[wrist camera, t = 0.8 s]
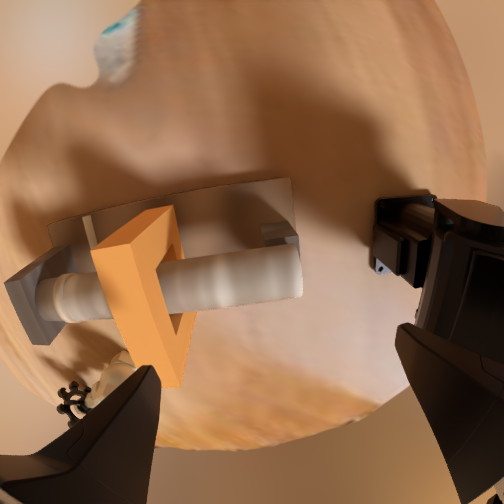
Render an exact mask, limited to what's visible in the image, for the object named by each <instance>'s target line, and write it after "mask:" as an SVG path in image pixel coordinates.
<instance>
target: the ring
mask: <svg viewBox="0 0 504 504" xmlns="http://www.w3.org/2000/svg"><path fill="white" fill-rule="evenodd" d="M90 252H91V256H92V259H93V262H94V265H95V268H96V271H97V274H98V277H99V280H100V283H101V286H102V289H103V291H104V294H105V297H106V300H107V302H108V305H109V307H110V310H111V312H112V315H113V317H114V320H115V322H116V325H117V327H118V329H119V332H120V334H121V336H122V338H123V341H124V343H125V345H126V347H127V349H128V351H129V354H130V356H131V358H132V360H133V362H134V364H135V366H136V368H137V369H138V368H139V367H140V366H142V365H152V366H153V367H154V368H155V370H156V372H157V374H158V376H159V378H160V380H161V388H180V387H181V385H182V379H183V374H184V369H185V364H186V360H187V355H188V350H189V345H190V340H191V336H192V331H193V327H194V322H195V317H196V313H197V311H195V312H185V313H175V314H169V313H168V310H167V307H166V304H165V301H164V297H163V294H162V291H161V287H160V284H159V280H158V277H157V273H156V270H155V269H156V268H157V266H158V265H159V263H160V262H166V261H173V260H180V259H185V258H184V253H183V249H182V244H181V240H180V235H179V230H178V226H177V221H176V216H175V211H174V206H173V205H169V206H164V207H159V208H154V209H149V210H145V211H144V212H142V213H141V214H139V215H138V216H136V217H135V218H134V219H132V220H131V221H129V222H128V223H127V224H125V225H124V226H122V227H121V228H120V229H118V230H117V231H115V232H114V233H113V234H111V235H110V236H109V237H107V238H106V239H105V240H103V241H102V242H101V243H99V244H98V245H97V246H96V247H94V248H93V249H92V250H90Z"/></svg>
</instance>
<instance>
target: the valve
mask: <svg viewBox="0 0 504 504" xmlns="http://www.w3.org/2000/svg"><path fill="white" fill-rule="evenodd" d="M136 370H137V368H136V366H135V364H134V362H133V360H132V358H131V356H130V354H129V352H128V351H125V350H122V351H121V352H119V353H118V354H116V355H115V356H114V357H113V358H112V360H111V362H110V364H109V366H108V367H107V368H106V369H105V370H104V371H103V373H102V375H101V378H100V380H99V381H98V382H96V383H95V384H94V385H93V386H92V389H91V388H90V387H87V388H85V389H84V390H83V391H80V390H78V386H79V384H78V383H77V382H75V381H73V382H71V383H70V384H69V389H70V390H71V391H70V392H69V393H67V392H66V391H65V390H66V389H65V388H61V389H59V390H58V396H59V397H60V398H63V400H64V405H63V404H60V405H58V406H57V411H58V412H59V413H60V414H64V413H66V414H67V415H68V416H69V418H70V421H68V426H69V428H71V427H72V426H73V425H75V424H76V423H77V422H78V421H79V420H80V419H79V418H77V417H76V416H75V415H74V414H73V413H72V411H71V409H70V406H71V405H74V408H75V410H76V412H77V413H78V414H83V415H84V414H87V413H88V412H90V411H91V410H92V409H93V408H94V407H95V406H96V405H98V404H99V403H100V402H101V401H102V400H103V399H104V398H106V397H107V396H108V395H109V394H110V393H111V392H112V391H113V390H115V389H116V388H117V387H118V386H119V385H120V384H121V383H122V382H124V381H125V380H126V379H127V378H128V377H129V376H130V375H131V374H133V373H134V372H135V371H136ZM74 395H77V396H81V398H80V399H78V400H70V398H71V397H72V396H74Z"/></svg>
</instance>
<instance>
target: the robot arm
mask: <svg viewBox="0 0 504 504" xmlns="http://www.w3.org/2000/svg"><path fill="white" fill-rule="evenodd" d="M432 198H433V201H431V200H432ZM381 202H382V203H383V205H382V207H380V203H381ZM373 255H374V271H375V272H376V273H377V274H385V273H390V272H393V273H394V274H395V275H396V276H401V277H402V278H403V279H405V280H406V281H407V282H408V283H409V284H410V285H411V286H412V287H414V288H420V287H421V288H422V294H421V298H420V303H419V307H418V309H417V310H416V314H415V319H416V320H415V324H414V325H413V324H411V323H404V324H400V325H399V326H398V327H397V332H396V338H395V347H396V350H397V353H398V355H399V358H400V360H401V363H402V366H403V368H404V371H405V374H406V376H407V379H408V381H409V383H410V385H411V387H412V389H413V391H414V393H415V395H416V397H417V399H418V401H419V403H420V405H421V407H422V409H423V411H424V413H425V415H426V417H427V420H428V422H429V424H430V426H431V428H432V431H433V433H434V435H435V437H436V440H437V442H438V444H439V447H440V449H441V451H442V454H443V456H444V459H445V461H446V463H447V466H448V469H449V471H450V474H451V476H452V479H453V482H454V485H455V487H456V490H457V493H458V496H459V499H460V502H461V504H468V503H470V502H471V501H473V500H474V499H476V498H477V497H479V496H480V495H482V494H483V493H485V492H486V491H487V490H489V489H490V488H491V487H493V486H494V487H495V489H496V492H497V493H496V494H495V495H494V496H492V497H491V498H490V499H489V500H488V501H487V504H504V212H503V210H502V209H501V208H500V207H498V206H495V205H491V204H488V203H484V202H481V201H476V200H457V199H437V197H436V196H435V195H433V194H424V195H410V196H397V197H385V198H378V199H377V200H376V201H375V225H374V226H373ZM379 267H381V269H380V270H378V269H379ZM160 399H161V380H160V378H159V376H158V374H157V372H156V370H155V368H154V367H153V366H152V365H142V366H140V367H139V368H138V369H137V370H136V371H135V372H134V373H133V374H131V375H130V376H129V377H128V378H127V379H126V380H125V381H124V382H122V383H121V384H120V385H119V386H118V387H117V388H116V389H115V390H113V391H112V392H111V393H110V394H109V395H108V396H107V397H106V398H104V399H103V400H102V401H101V402H100V403H99V404H98V405H96V406H95V407H94V408H93V409H92V410H91V411H90V412H88V413H87V414H86V415H85V416H84V417H83V419H80V420H79V421H78V422H77V423H76V424H75V425H73V426H72V427H71V428H70V429H69V430H67V431H66V432H65V433H64V434H62V435H61V436H60V437H58V438H57V439H55V440H54V441H53V442H51V443H49V444H48V445H47V446H45V447H44V448H42V449H41V450H39V451H38V452H36V453H34V454H31V455H25V456H17V455H15V456H14V455H0V504H146V502H147V494H148V486H149V479H150V472H151V465H152V459H153V453H154V446H155V440H156V434H157V429H158V423H159V414H160Z"/></svg>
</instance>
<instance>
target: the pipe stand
mask: <svg viewBox="0 0 504 504" xmlns="http://www.w3.org/2000/svg"><path fill="white" fill-rule="evenodd" d="M169 205H173V206H174V211H175V216H176V221H177V226H178V230H179V235H180V240H181V244H182V249H183V253H184V258H185V259H180V260H173V261H166V262H160V263H159V265H158V266H157V268H156V269H155V270H156V273H157V277H158V280H159V284H160V287H161V291H162V294H163V297H164V301H165V304H166V307H167V310H168V313H169V314H175V313H185V312H195V311H203V310H212V309H220V308H228V307H236V306H244V305H251V304H258V303H265V302H272V301H279V300H285V299H291V298H298V297H302V294H303V279H302V270H301V264H300V250H299V237H298V234H297V233H296V226H295V215H294V205H293V195H292V185H291V178H290V177H281V178H272V179H264V180H257V181H249V182H242V183H235V184H228V185H222V186H216V187H210V188H204V189H198V190H192V191H186V192H181V193H176V194H170V195H165V196H160V197H155V198H150V199H145V200H141V201H136V202H132V203H127V204H123V205H118V206H114V207H110V208H106V209H102V210H98V211H94V212H90V213H86V214H82V215H78V216H75V217H71V218H67V219H64V220H60V221H57V222H53V223H51V224H49V225H47V226H48V230H49V234H50V237H51V241H52V244H53V247H54V248H52V249H51V250H49V251H48V252H46V253H45V254H43V255H42V256H40V257H39V258H37V259H36V260H34V261H33V262H32V263H30V264H29V265H27V266H26V267H24V268H23V269H22V270H20V271H19V272H18V273H16V274H15V275H13V276H12V277H11V278H9V279H8V280H7V281H6V282H4V285H5V287H6V290H7V292H8V295H9V297H10V299H11V302H12V304H13V306H14V309H15V311H16V313H17V315H18V317H19V319H20V321H21V323H22V325H23V327H24V329H25V331H26V333H27V335H28V337H29V339H30V341H31V343H32V344H33V345H50V344H51V342H52V341H53V340H54V339H55V337H56V336H57V335H58V334H59V332H60V331H61V330H62V328H63V327H64V326H65V325H66V324H67V323H80V322H83V321H84V320H99V319H114V317H113V315H112V312H111V310H110V307H109V305H108V302H107V300H106V297H105V294H104V291H103V289H102V286H101V283H100V280H99V277H98V274H97V271H96V268H95V265H94V262H93V259H92V256H91V252H90V250H92V249H93V248H94V247H96V246H97V245H98V244H99V243H101V242H102V241H103V240H105V239H106V238H107V237H109V236H110V235H111V234H113V233H114V232H115V231H117V230H118V229H120V228H121V227H122V226H124V225H125V224H127V223H128V222H129V221H131V220H132V219H134V218H135V217H136V216H138V215H139V214H141V213H142V212H144V211H145V210H149V209H154V208H159V207H164V206H169Z"/></svg>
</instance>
